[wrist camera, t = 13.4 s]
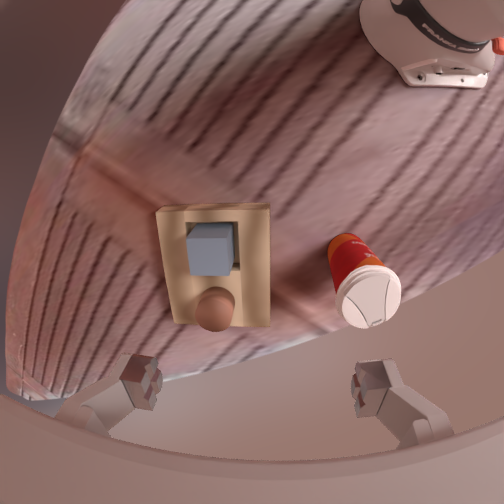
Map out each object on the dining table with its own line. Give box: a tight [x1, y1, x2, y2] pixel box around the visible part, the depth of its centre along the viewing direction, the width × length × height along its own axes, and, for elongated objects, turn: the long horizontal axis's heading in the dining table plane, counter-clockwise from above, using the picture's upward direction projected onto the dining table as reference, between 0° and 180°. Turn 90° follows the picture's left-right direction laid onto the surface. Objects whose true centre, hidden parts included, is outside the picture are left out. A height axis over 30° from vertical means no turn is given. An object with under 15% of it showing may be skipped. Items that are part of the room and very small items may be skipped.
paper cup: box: [328, 233, 401, 328], centre depth 35 cm, size 8×8×14 cm
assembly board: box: [156, 203, 270, 332], centre depth 41 cm, size 15×18×8 cm
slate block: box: [186, 222, 235, 276], centre depth 39 cm, size 5×5×6 cm
